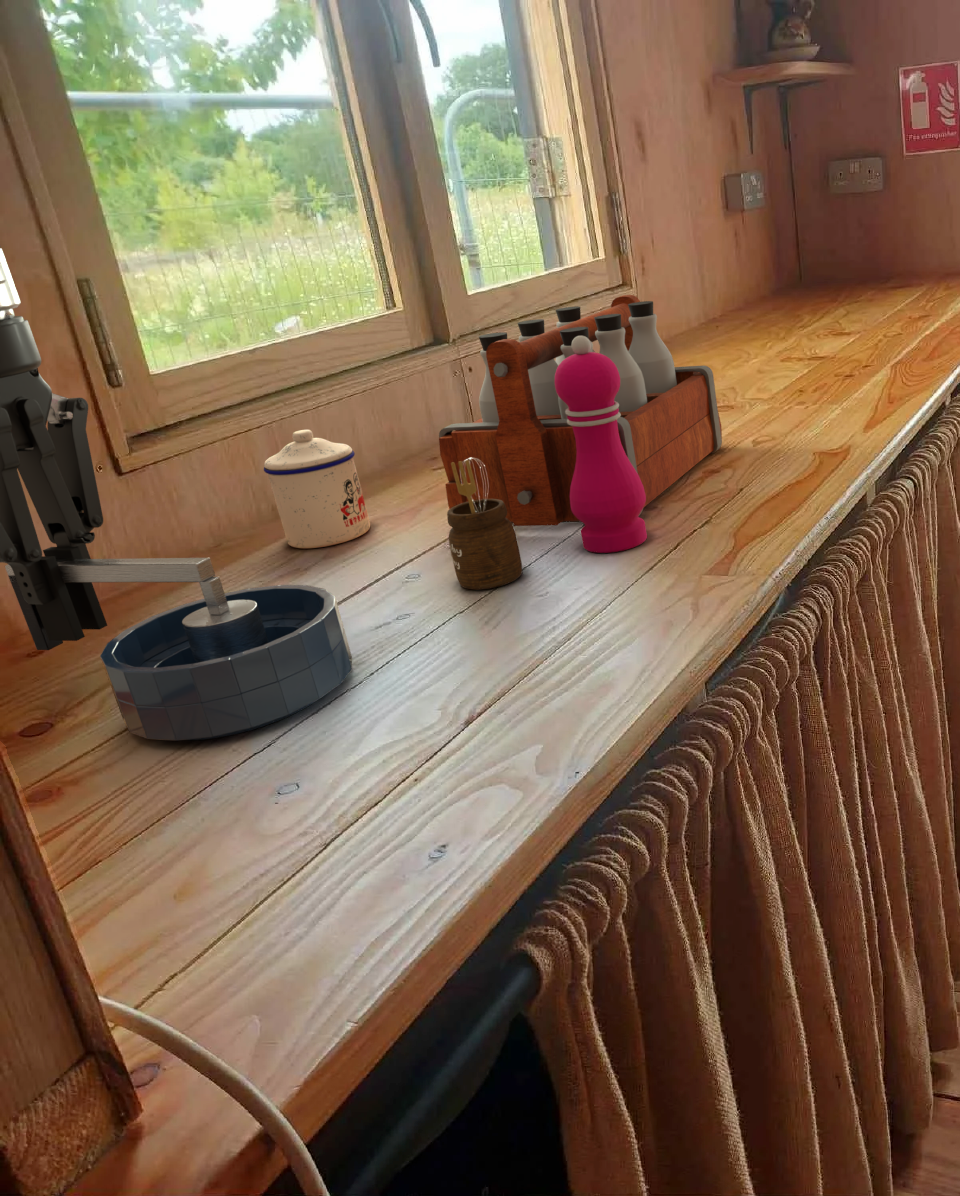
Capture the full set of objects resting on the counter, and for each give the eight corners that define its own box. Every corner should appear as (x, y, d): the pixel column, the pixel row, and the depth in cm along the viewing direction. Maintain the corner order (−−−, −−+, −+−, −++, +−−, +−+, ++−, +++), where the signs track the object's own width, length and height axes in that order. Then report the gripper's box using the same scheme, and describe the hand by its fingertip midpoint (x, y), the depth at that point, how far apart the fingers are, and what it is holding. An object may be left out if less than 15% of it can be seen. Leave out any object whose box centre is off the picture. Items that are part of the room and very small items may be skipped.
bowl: (77, 745, 79) (48, 668, 77) (234, 651, 93) (213, 584, 91) (259, 756, 75) (233, 675, 73) (395, 655, 89) (377, 585, 86)
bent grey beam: (282, 636, 84) (256, 548, 81) (235, 665, 79) (205, 573, 77) (71, 633, 90) (40, 551, 87) (16, 660, 85) (-18, 574, 83)
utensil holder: (525, 564, 106) (500, 440, 102) (521, 586, 101) (494, 456, 96) (462, 573, 106) (433, 449, 101) (454, 596, 100) (424, 466, 95)
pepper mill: (630, 556, 105) (594, 341, 98) (564, 554, 108) (524, 345, 101) (664, 530, 112) (633, 327, 104) (601, 529, 114) (566, 330, 107)
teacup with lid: (367, 541, 119) (339, 433, 115) (277, 555, 117) (245, 447, 113) (381, 510, 130) (356, 411, 126) (299, 523, 128) (271, 423, 124)
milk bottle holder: (439, 535, 118) (396, 350, 111) (581, 447, 149) (555, 299, 142) (624, 533, 112) (591, 338, 105) (732, 442, 143) (712, 287, 136)
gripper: (-102, 335, 70) (33, 675, 79) (90, 301, 83) (188, 597, 91) (-187, 343, 72) (-46, 673, 81) (13, 308, 85) (116, 596, 94)
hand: (78, 632), depth 86 cm, fingers closed on bent grey beam, 1 cm apart
